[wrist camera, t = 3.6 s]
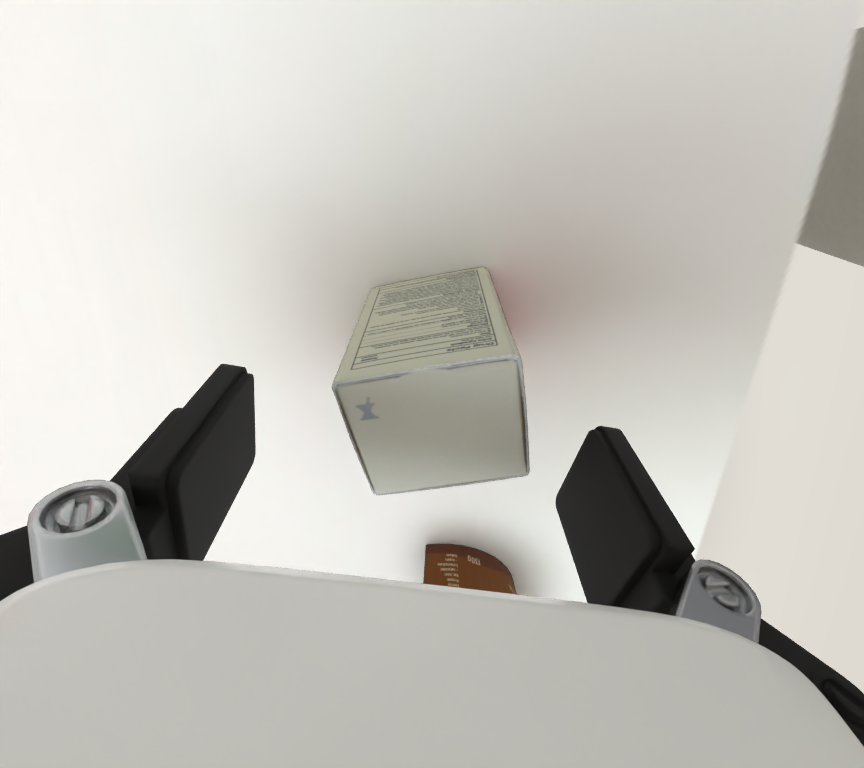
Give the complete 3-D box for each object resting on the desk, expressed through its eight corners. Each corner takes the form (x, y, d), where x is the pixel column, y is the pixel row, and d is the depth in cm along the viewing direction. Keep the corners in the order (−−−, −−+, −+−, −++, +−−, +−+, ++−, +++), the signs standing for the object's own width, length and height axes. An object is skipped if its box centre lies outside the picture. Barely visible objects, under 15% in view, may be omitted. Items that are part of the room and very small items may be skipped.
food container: (537, 628, 31) (574, 817, 23) (455, 635, 32) (461, 822, 24) (522, 516, 25) (565, 722, 16) (420, 529, 26) (411, 732, 17)
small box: (393, 372, 20) (369, 501, 13) (368, 284, 18) (325, 385, 11) (501, 355, 19) (534, 481, 13) (490, 262, 17) (523, 354, 10)
